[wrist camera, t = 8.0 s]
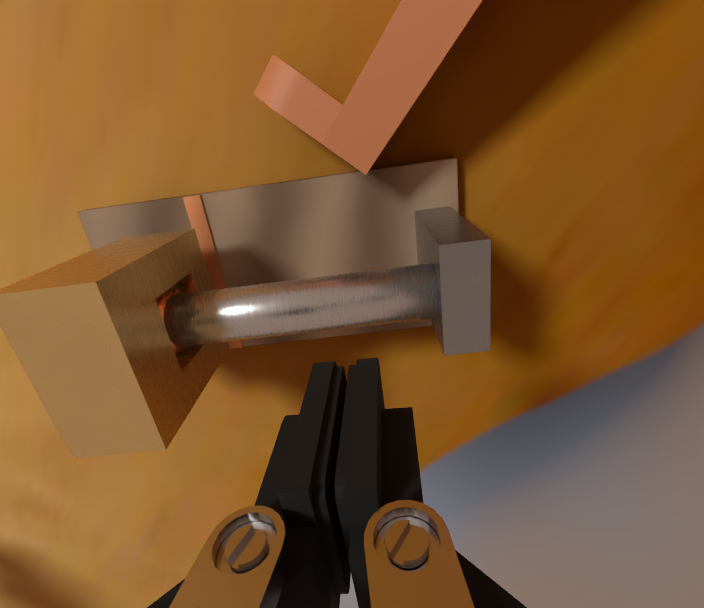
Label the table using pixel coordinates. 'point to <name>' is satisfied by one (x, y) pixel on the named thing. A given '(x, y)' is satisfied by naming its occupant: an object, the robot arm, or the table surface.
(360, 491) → the robot arm
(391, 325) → the base board
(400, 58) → the crank
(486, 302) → the pipe rail
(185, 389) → the collar
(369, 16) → the table surface
